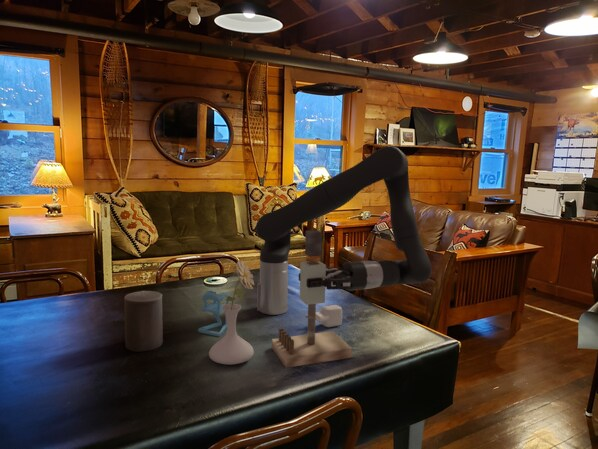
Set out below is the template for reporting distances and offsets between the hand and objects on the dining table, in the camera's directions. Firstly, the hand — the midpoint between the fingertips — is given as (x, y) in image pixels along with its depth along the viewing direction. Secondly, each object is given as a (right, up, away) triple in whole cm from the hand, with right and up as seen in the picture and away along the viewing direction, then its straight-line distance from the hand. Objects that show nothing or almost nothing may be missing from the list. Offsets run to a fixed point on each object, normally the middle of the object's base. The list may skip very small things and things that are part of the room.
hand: (303, 280), depth 114 cm
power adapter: (+7, -17, +23) cm, 29 cm away
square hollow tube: (+2, -6, +2) cm, 6 cm away
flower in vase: (-18, -20, 0) cm, 27 cm away
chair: (-25, -17, +18) cm, 36 cm away
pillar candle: (-43, -19, +7) cm, 47 cm away
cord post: (+2, -20, +4) cm, 20 cm away
